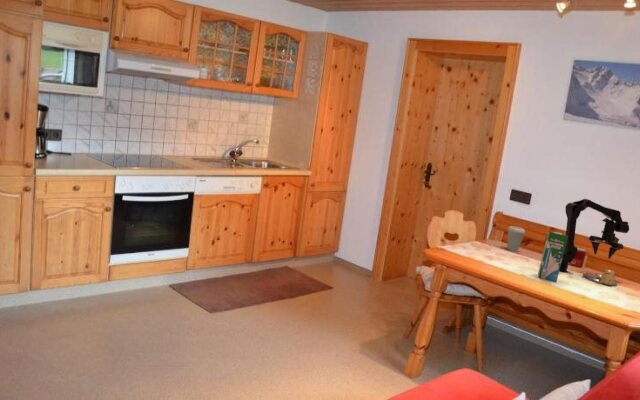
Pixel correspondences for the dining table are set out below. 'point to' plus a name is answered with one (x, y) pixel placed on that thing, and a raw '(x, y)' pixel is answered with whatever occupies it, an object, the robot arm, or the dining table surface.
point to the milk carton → (552, 256)
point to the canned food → (578, 258)
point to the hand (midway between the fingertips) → (602, 256)
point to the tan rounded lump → (606, 278)
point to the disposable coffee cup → (514, 237)
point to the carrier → (595, 277)
